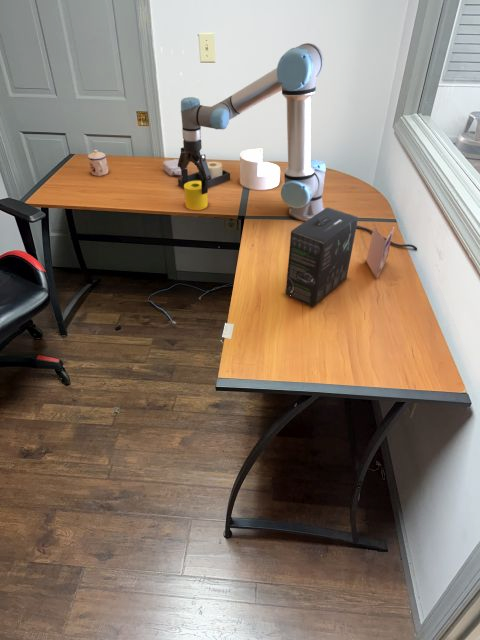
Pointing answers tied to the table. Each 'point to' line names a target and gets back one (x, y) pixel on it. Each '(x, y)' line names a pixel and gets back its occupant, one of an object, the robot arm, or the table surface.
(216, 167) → the paper roll
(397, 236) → the table surface
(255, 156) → the white notched cylinder
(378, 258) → the greeting card
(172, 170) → the charger
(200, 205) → the tape roll
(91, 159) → the teacup with lid
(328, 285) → the headset box
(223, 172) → the rack
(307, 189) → the robot arm
